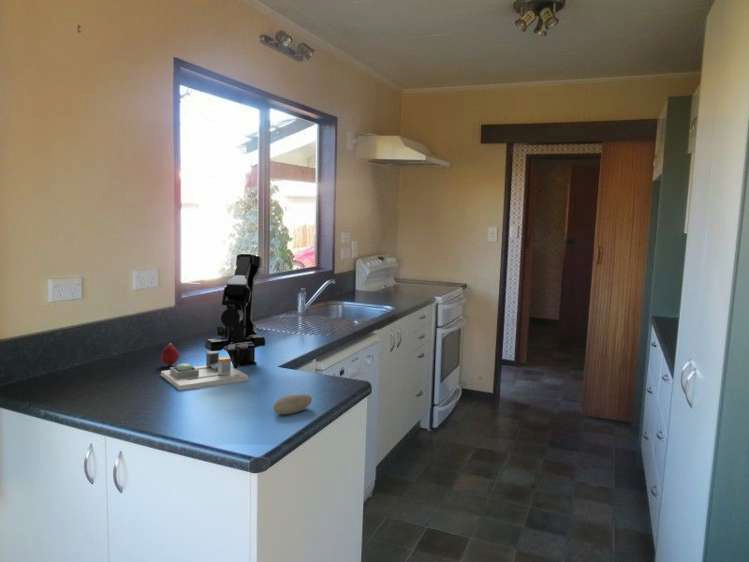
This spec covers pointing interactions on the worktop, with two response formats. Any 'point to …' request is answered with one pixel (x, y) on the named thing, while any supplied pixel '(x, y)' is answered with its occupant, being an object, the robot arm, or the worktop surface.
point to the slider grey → (211, 358)
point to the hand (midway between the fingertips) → (235, 368)
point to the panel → (201, 377)
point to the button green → (184, 367)
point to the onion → (169, 355)
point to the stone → (292, 404)
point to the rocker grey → (214, 365)
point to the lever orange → (224, 366)
